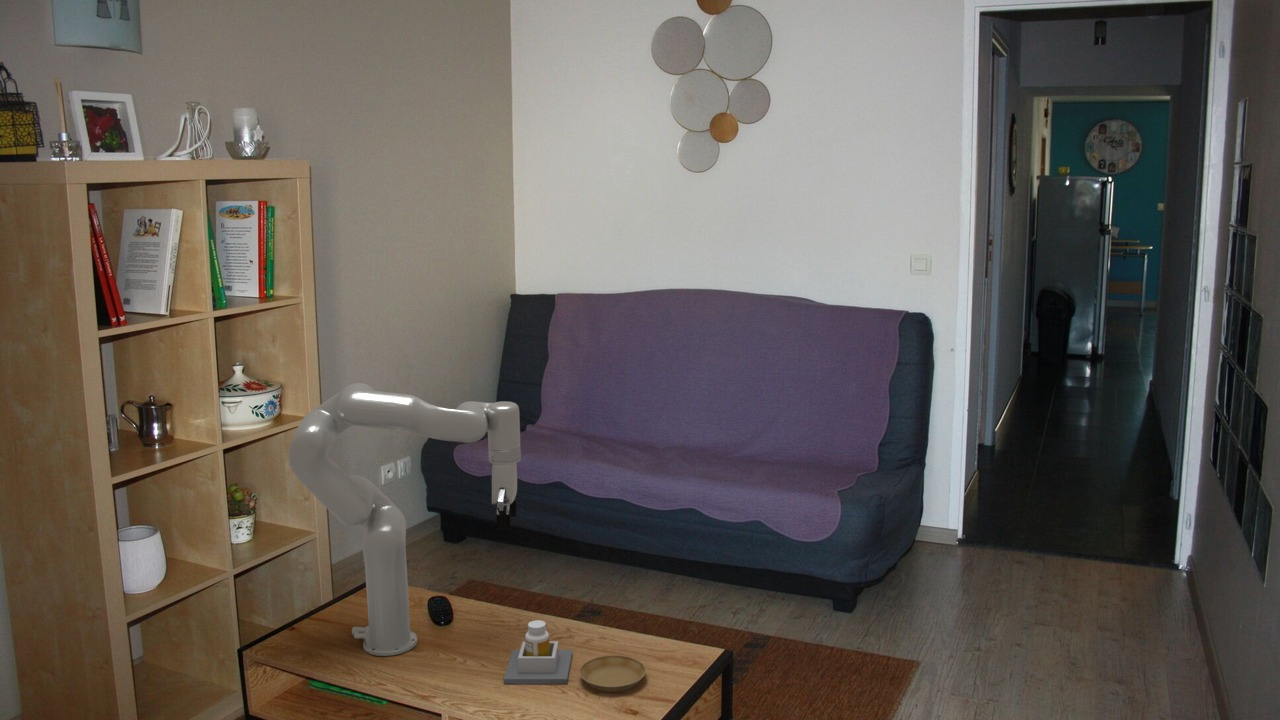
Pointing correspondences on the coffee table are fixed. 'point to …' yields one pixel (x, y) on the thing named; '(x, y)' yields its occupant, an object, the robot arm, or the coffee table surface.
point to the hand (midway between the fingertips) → (507, 523)
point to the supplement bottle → (537, 639)
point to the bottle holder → (539, 666)
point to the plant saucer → (612, 673)
